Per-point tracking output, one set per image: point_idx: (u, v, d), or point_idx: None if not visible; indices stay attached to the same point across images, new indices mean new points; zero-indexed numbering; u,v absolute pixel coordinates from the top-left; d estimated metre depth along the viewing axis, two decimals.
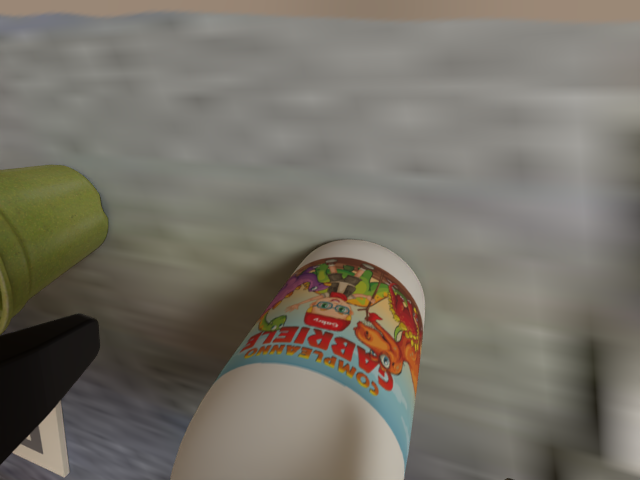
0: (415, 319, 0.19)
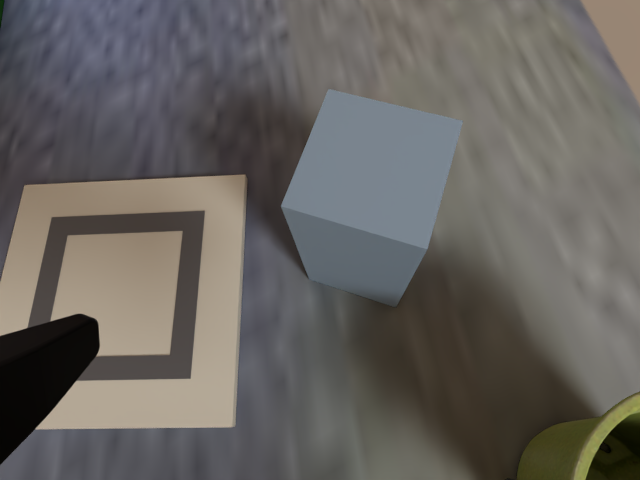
0: None
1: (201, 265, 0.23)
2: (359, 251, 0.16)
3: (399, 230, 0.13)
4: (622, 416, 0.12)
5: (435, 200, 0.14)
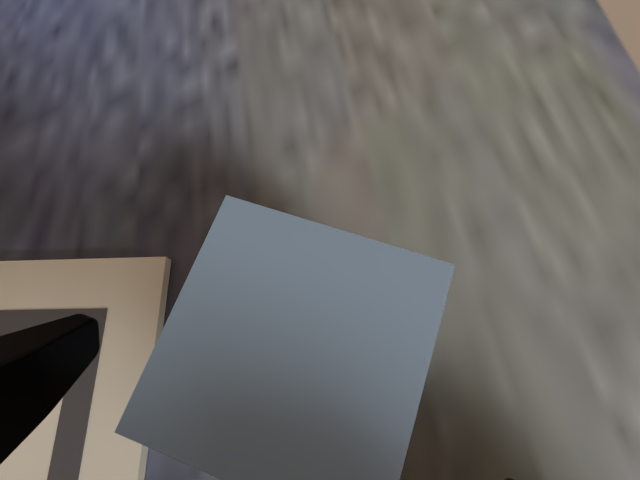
0: None
1: (95, 390, 0.17)
2: None
3: None
4: None
5: (400, 434, 0.07)
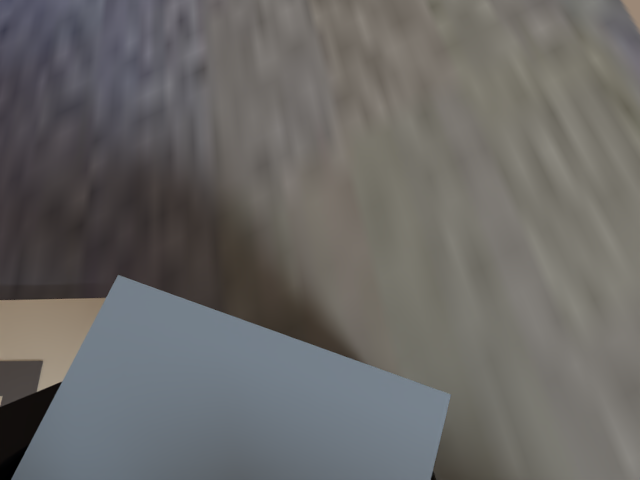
0: None
1: None
2: None
3: None
4: None
5: None
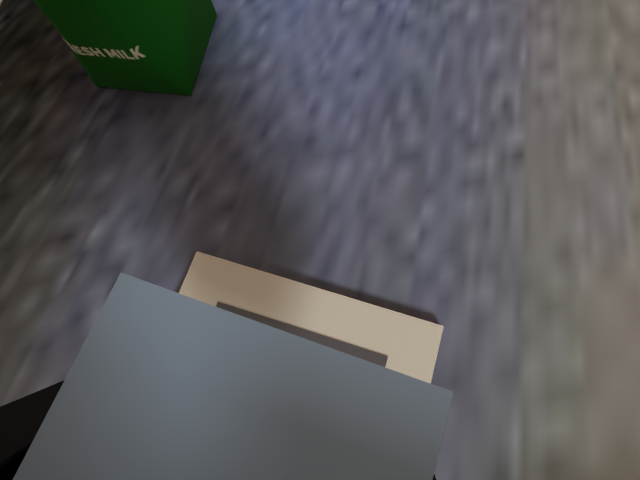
0: None
1: None
2: None
3: None
4: None
5: None
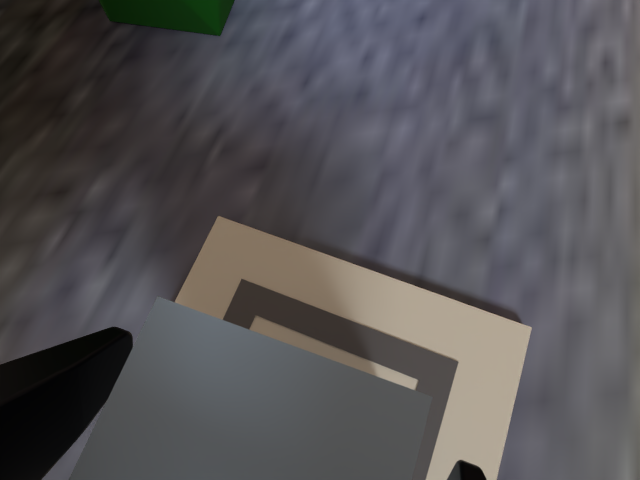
0: None
1: (435, 451, 0.15)
2: None
3: None
4: None
5: None
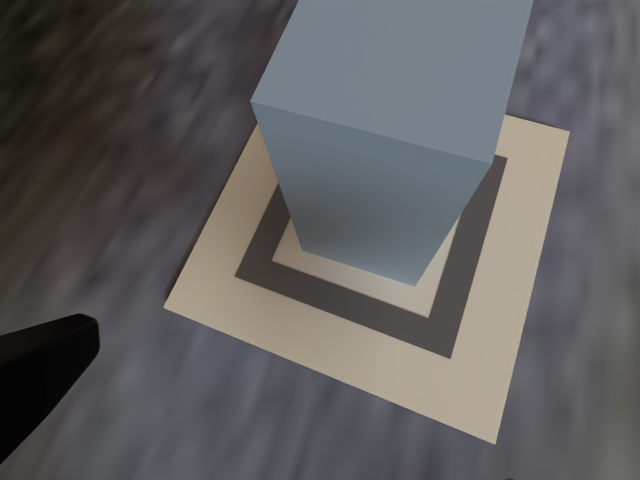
0: None
1: (490, 223, 0.18)
2: (373, 188, 0.10)
3: (443, 135, 0.08)
4: None
5: (501, 89, 0.08)
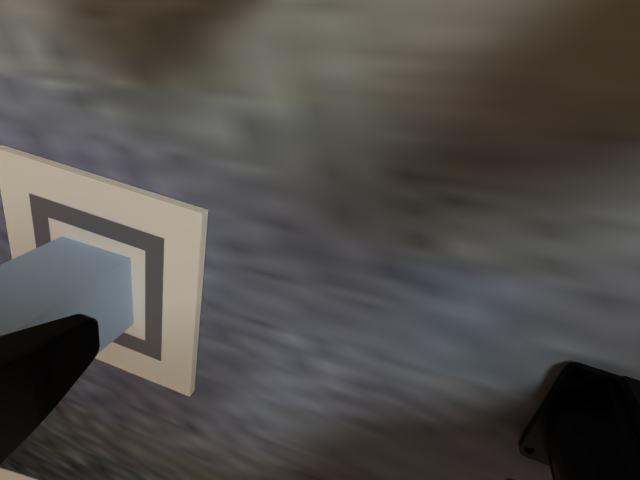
0: None
1: (75, 207, 0.25)
2: None
3: None
4: None
5: None
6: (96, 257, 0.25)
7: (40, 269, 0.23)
